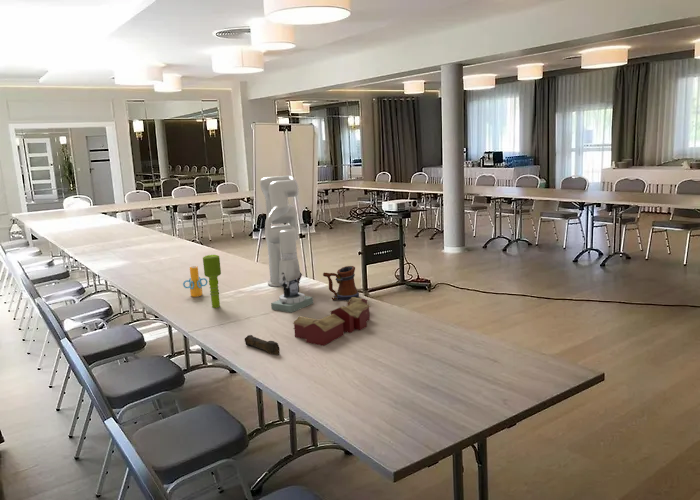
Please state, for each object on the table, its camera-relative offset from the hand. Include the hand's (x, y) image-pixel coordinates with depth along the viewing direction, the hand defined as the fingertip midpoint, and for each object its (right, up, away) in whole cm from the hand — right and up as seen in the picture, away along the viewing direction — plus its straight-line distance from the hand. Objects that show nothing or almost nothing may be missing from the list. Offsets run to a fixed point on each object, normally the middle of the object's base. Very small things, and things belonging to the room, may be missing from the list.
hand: (291, 293), depth 270 cm
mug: (+23, -3, +9) cm, 25 cm away
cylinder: (-52, -3, +29) cm, 60 cm away
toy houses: (+24, -11, -30) cm, 40 cm away
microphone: (-37, -7, +7) cm, 38 cm away
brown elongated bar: (-5, -17, -52) cm, 55 cm away
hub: (0, -1, 0) cm, 1 cm away
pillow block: (0, -6, +1) cm, 6 cm away
